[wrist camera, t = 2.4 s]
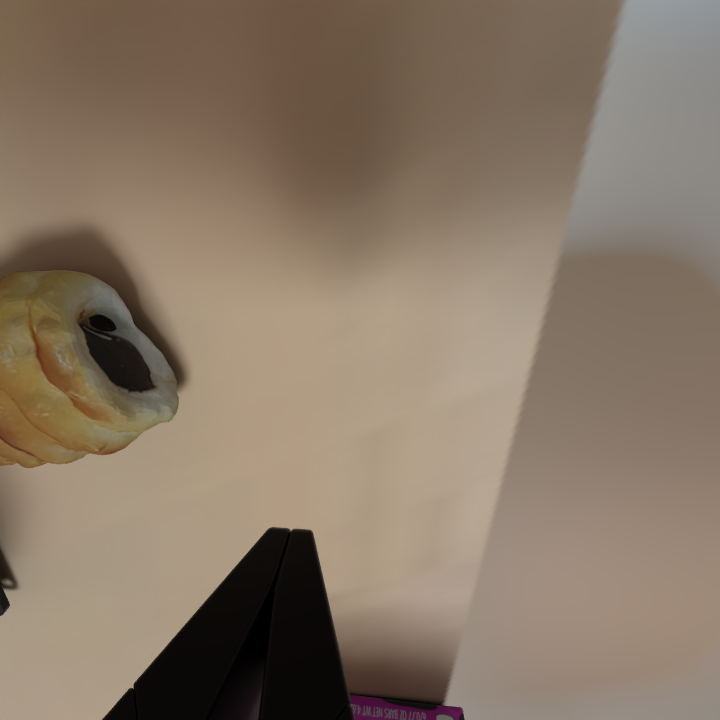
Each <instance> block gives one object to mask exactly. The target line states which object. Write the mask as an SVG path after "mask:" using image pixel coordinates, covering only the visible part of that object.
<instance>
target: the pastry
mask: <svg viewBox="0 0 720 720" xmlns="http://www.w3.org/2000/svg"><path fill="white" fill-rule="evenodd" d="M176 388H177V380H176V378H175V375H174V372H173V370H172V369H171V367H170V366H169V364H168V363H167V361H166V359H165V357H164V355H163V354H162V352H161V351H160V350H158V349H157V348H156V347H155V345H154V344H153V343H152V342H151V340H150V339H149V338H148V337H147V336H146V335H145V334H143V333H142V332H141V331H140V330H139V329H138V328H137V327H136V326H135V325H134V323H133V320H132V316H131V314H130V312H129V310H128V308H127V307H126V305H125V304H124V302H123V301H122V299H121V298H120V296H119V295H118V293H117V292H116V290H115V289H114V288H112V287H111V286H110V285H108V284H106V283H105V282H103V281H101V280H99V279H98V278H96V277H94V276H92V275H89V274H86V273H82V272H77V271H69V270H50V271H21V272H16V273H13V274H11V275H8V276H6V277H4V278H3V279H2V280H1V281H0V466H3V465H13V464H15V463H18V464H20V465H21V466H23V467H26V468H33V467H37V466H40V465H43V464H46V463H48V462H49V463H53V464H67V463H70V462H73V461H76V460H78V459H80V458H83V457H84V456H85V455H87V454H89V453H92V454H97V455H107V454H112V453H115V452H117V451H119V450H122V449H124V448H125V447H126V446H128V445H129V444H130V443H131V442H132V441H134V440H135V439H136V438H137V437H138V436H139V435H140V434H142V433H143V432H144V431H146V430H147V429H149V428H151V427H153V426H155V425H157V424H158V423H162V422H169V421H170V420H172V418H173V417H174V416H175V414H176V412H177V409H178V404H179V398H178V395H177V392H176Z"/></svg>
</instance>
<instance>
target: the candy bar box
mask: <svg viewBox="0 0 720 720" xmlns="http://www.w3.org/2000/svg"><path fill="white" fill-rule="evenodd" d="M350 700H351V707H352V708H353V712H354V717H355V720H464V714H463V710H462V708H460V707H450V706H443V705H433V704H424V703H416V702H408V701H400V700H390V699H382V698H373V697H365V696H356V695H350Z"/></svg>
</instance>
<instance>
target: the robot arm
mask: <svg viewBox="0 0 720 720" xmlns="http://www.w3.org/2000/svg"><path fill="white" fill-rule="evenodd" d="M9 606H10V604H9V601H8V599H7V597H6V595H5V593H4V590H3V588H2V586H1V584H0V616H1V615H3V614H4V613H5V612H6V610H7V609H8V608H9ZM102 720H355V717H354V712H353V708H352V707H351V700H350V695H349V691H348V686H347V682H346V678H345V673H344V669H343V664H342V660H341V655H340V651H339V646H338V642H337V637H336V633H335V628H334V624H333V620H332V615H331V611H330V606H329V602H328V597H327V593H326V588H325V584H324V579H323V575H322V570H321V566H320V562H319V557H318V553H317V548H316V544H315V539H314V535H313V532H312V531H311V530H306V529H293V530H292V531H291V530H290V529H288V528H278V527H271V528H269V529H268V530H267V531H266V532H265V533H264V534H263V536H262V537H261V538H260V539H259V540H258V541H257V542H256V544H255V545H254V546H253V547H252V548H251V549H250V551H249V552H248V553H247V554H246V555H245V556H244V557H243V559H242V560H241V561H240V562H239V563H238V564H237V566H236V567H235V568H234V569H233V570H232V571H231V572H230V574H229V575H228V576H227V577H226V578H225V579H224V580H223V582H222V583H221V584H220V585H219V586H218V587H217V589H216V590H215V591H214V592H213V593H212V594H211V595H210V597H209V598H208V599H207V600H206V601H205V602H204V603H203V605H202V606H201V607H200V608H199V609H198V610H197V612H196V613H195V614H194V615H193V616H192V617H191V618H190V620H189V621H188V622H187V623H186V624H185V625H184V627H183V628H182V629H181V630H180V631H179V632H178V633H177V635H176V636H175V637H174V638H173V639H172V640H171V641H170V643H169V644H168V645H167V646H166V647H165V648H164V650H163V651H162V652H161V653H160V654H159V655H158V656H157V658H156V659H155V660H154V661H153V662H152V663H151V665H150V666H149V667H148V668H147V669H146V670H145V671H144V673H143V674H142V675H141V676H140V677H139V678H138V679H137V681H136V682H135V683H134V689H133V688H130V689H128V691H127V692H126V693H125V694H124V695H123V696H122V698H121V699H120V700H119V701H118V702H117V703H116V705H115V706H114V707H113V708H112V709H111V710H110V711H109V713H108V714H107V715H106V716H105V717H104V718H103V719H102Z"/></svg>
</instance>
